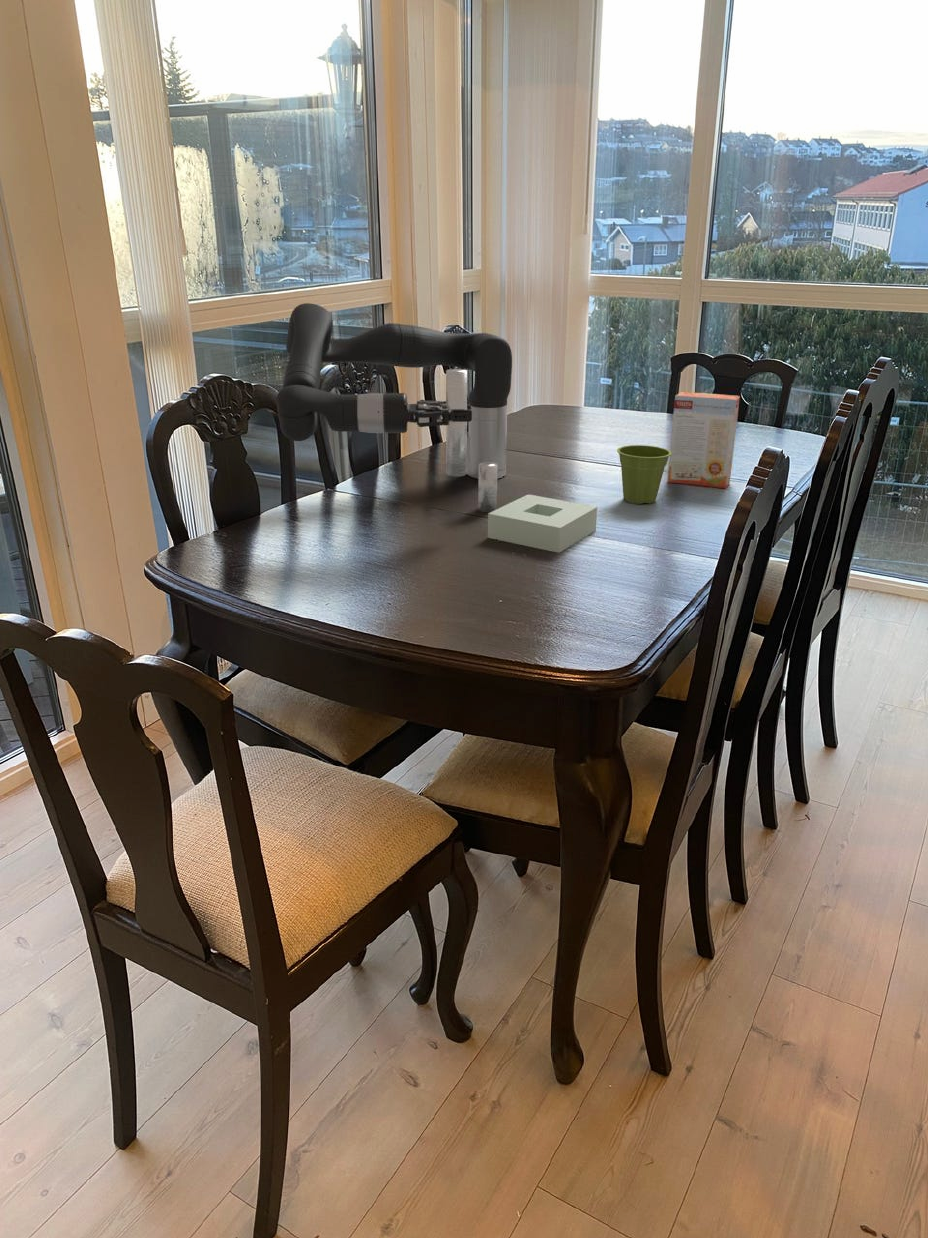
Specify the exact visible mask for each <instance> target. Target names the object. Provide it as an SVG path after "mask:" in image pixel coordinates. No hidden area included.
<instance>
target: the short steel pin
mask: <svg viewBox="0 0 928 1238" xmlns="http://www.w3.org/2000/svg"><path fill="white" fill-rule="evenodd" d="M477 495H478V498H477V499H478V500H477V501H478V503H477V505H478V507H477V508H478V511H479V512H482V513H490V512H492V511H495V510H497V509H498V508H497V504H498V502H497V501H498V478H497V463H493V462H482V463H479V479H478V494H477Z"/></svg>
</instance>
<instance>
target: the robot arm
mask: <svg viewBox="0 0 928 1238" xmlns="http://www.w3.org/2000/svg"><path fill="white" fill-rule="evenodd" d="M333 321H334V320H333V317H332V315H331V313H330V312H329V310H328V309H326V308H325V307H323V306H321V305H319V304H315V303H310V302H309V303H308V302H307V303H301V304H299V305H297V306H295V307H294V309H293V310H292V312H291V314H290V318H289V323H288V329H287V336H286V344H285V345H286V346H285V347H286V348H285V349H286V351H287V353H288V354H289V358H288V361H287V366H286V369H285V373H284V377H283V378H284V379H283V382H282V383H283V384H282V385H283V386H282V388H281V389H280V390H279V391H278V392H277V394H276V400H275V401H276V409H277V415H278V420H279V426H280V430H281V432H282V434H283V436H285V437H286V438H287V439H289V440H290V441H294V442H305V441H306V440H308V439H309V438H311V437H313V435H314V434H315V432H316V429H317V427H318V414H320V415H322V416H324V417H325V419H326V422H327V424H328V427H329V428H330V430H331V431H333V432H340V433H341V432H348V433H349V432H350V433H351V432H357V433H358V432H360V433H361V432H362V433H369V434H376V433H377V434H405V433H407V432H408V423H413V424H416V425H417V427H420V428H423V427H424V428H425V427H437V426H446V425H449V423H452V422H467V423H468V434H467V467H466V474H467V475H468V476H469V477H470V478H473V479H478V480H479V463H482V462H493V463H497V479H500V478H503V476H504V477H505V476H506V475H507V473H506V470H507V439H508V437H507V434H508V433H507V432H508V429H507V427H508V398H509V395H510V393H511V388H512V386H511V385H512V372H513V354H512V352H513V351H512V349H511V346H510V344H509V343H508V341H507V340H506V339H504V338H502V337H501V336H498V335H495V334H491V333H487V332H479V333H478V332H476V333H475V332H474V333H458V332H457V333H456V332H455V333H454V332H453V333H451V332H444V331H440V330H437V329H433V328H428V327H423V326H422V327H421V326H419V325H418V326H417V325H412V324H402V323H392V322H391V323H390V322H389V323H384V324H381V325H378V326H376V327H373V328H371V329H370V330H367V331H364V332H362V333H361V334H359V335H356V336H352V337H349V338H348V337H347V338H332V334H333V328H334V322H333ZM322 363H355V364H356V363H357V364H359V363H360V364H370V365H372V364H373V365H382V366H389V367H398V368H399V367H401V368H410V369H411V368H412V369H413V368H428V367H435V366H436V367H437V366H448V367H456V368H459V369H464V370H470V371H473V372H474V378H473V379H474V382H473V388H472V390H470V392H469V393H468V404H467V409H446V400H444V401H442V400H426V399H420V400H417V401H416V403H410V404H409V403H408V396H407V394H406V393H405V392H369V393H367V392H366V393H361V394H360V393H359V394H343V393H342V394H339V393H333V392H329V391H326V390H321V389H320V383H321V371H322Z"/></svg>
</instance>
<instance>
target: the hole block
mask: <svg viewBox="0 0 928 1238" xmlns="http://www.w3.org/2000/svg"><path fill="white" fill-rule="evenodd" d="M597 517H598V506H595V505H589V504H584V503H578V502H572V501H566V500H562V499H557V498H549V497H546V496H540V495H539V496H538V495H536V494H535V495H534V494H526V495H524V496H522V497H520V498H518V499H516V500H515V499H514V501H512V502H511V501H510V502H509V503H507V504H505V505H503V506H501V507H499V508H497V510H495V511H492V512H487V538H488V539H493V540H496V539H497V541H502V542H507V543H511V544H515V545H519V546H520V545H522V546H525V547H530V548H535V549H537V550H538V549H539V550H544V551H549V552H552V553H553V552H554V553H557V554H558V553H559V554H560V553H561V552H563V551H564V550H567V549H568V548H570V547H572V546H573V545H574V544H576V543H578V542H579V541H581V540H583V539H585V538H586V537H588V536H589V535H591V534H592V533H594V532H596V531H597Z"/></svg>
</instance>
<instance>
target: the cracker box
mask: <svg viewBox="0 0 928 1238" xmlns="http://www.w3.org/2000/svg"><path fill="white" fill-rule="evenodd" d="M740 398H741V396H740V395H733V394H732V395H731V394H730V395H729V394H719V393H705V392H691V391H690V392H689V391H688V392H687V391H680V392H679V393H677V394H675V397H674V404H673V405H674V407H673V414H672V416H673V417H672V426H671V435H670V436H671V438H670V446H669V447H670V449H669V451H671V453H672V454H671V455H670V456H669V457H668V469H667V470H668V471H667V482H668V483H673V484H674V483H675V484H682V485H692V486H701V487H710V488H718V489H726V488H727V487H728V485H729V484H730V483H731V474H732V467H733V459H734V458H733V457H734V452H735V451H734V450H735V441H736V434H737V433H736V432H737V425H738V416H739V407H740Z"/></svg>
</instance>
